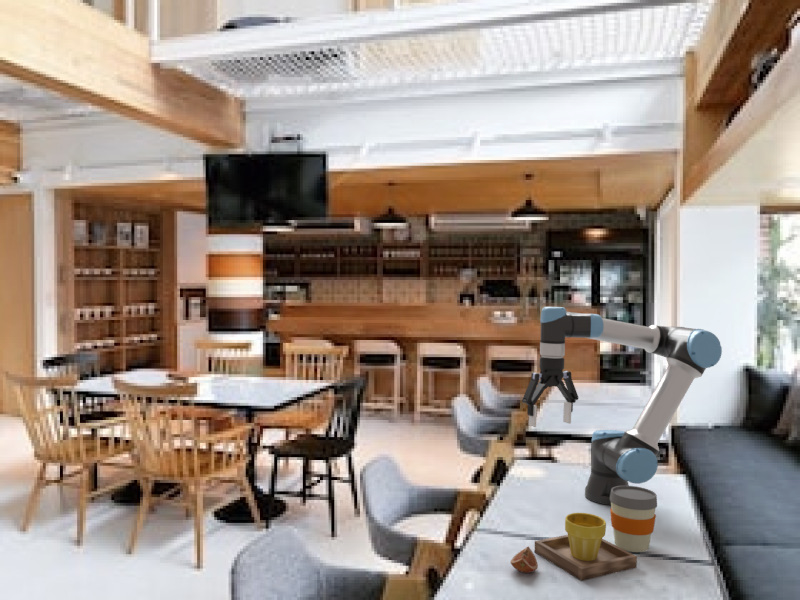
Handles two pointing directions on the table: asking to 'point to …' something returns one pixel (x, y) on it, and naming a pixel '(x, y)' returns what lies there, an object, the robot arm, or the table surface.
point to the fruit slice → (525, 561)
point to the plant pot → (585, 535)
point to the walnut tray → (604, 564)
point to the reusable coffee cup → (632, 517)
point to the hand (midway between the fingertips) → (550, 424)
